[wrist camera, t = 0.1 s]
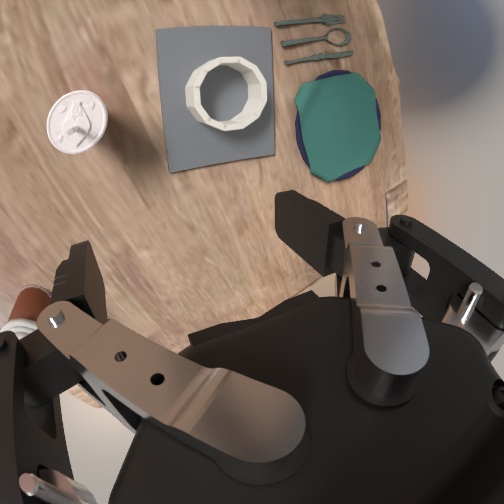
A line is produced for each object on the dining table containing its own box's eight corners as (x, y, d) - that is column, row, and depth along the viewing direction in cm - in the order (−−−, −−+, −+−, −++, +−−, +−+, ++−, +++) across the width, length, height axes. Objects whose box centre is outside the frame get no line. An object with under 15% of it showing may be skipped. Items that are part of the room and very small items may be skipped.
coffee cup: (7, 275, 33) (-11, 327, 24) (59, 278, 37) (52, 333, 28) (15, 321, 36) (5, 375, 27) (62, 324, 41) (61, 380, 32)
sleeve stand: (155, 30, 28) (161, 21, 24) (268, 28, 33) (285, 23, 30) (169, 172, 38) (176, 180, 35) (272, 153, 44) (288, 160, 40)
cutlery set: (302, 194, 50) (310, 198, 48) (258, 21, 33) (266, 18, 31) (378, 158, 55) (386, 161, 53) (353, 15, 37) (362, 13, 35)
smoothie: (62, 144, 30) (36, 168, 19) (62, 95, 27) (35, 93, 16) (108, 139, 32) (106, 159, 22) (110, 90, 29) (108, 84, 19)
